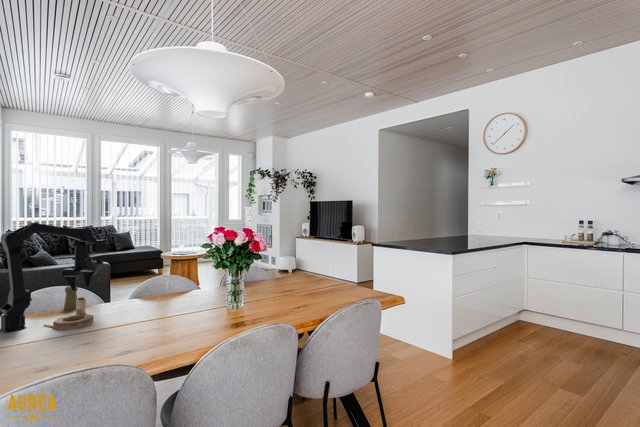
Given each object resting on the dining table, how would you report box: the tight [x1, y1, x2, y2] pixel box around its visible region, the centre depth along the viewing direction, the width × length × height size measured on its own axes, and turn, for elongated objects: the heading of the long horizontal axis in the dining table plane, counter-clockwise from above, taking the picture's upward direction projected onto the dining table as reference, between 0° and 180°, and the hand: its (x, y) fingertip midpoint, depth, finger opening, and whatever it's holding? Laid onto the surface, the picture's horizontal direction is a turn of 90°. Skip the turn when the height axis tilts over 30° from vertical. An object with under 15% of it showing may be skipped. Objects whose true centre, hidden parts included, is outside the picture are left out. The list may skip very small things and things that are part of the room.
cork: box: [63, 285, 78, 310], centre depth 171 cm, size 6×6×11 cm
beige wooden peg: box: [75, 296, 87, 315], centre depth 156 cm, size 4×4×9 cm
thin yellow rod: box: [43, 323, 53, 328], centre depth 143 cm, size 1×7×1 cm, turn 67°
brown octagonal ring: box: [52, 313, 94, 331], centre depth 146 cm, size 13×13×2 cm
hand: (81, 288), depth 159 cm, fingers open, 9 cm apart
